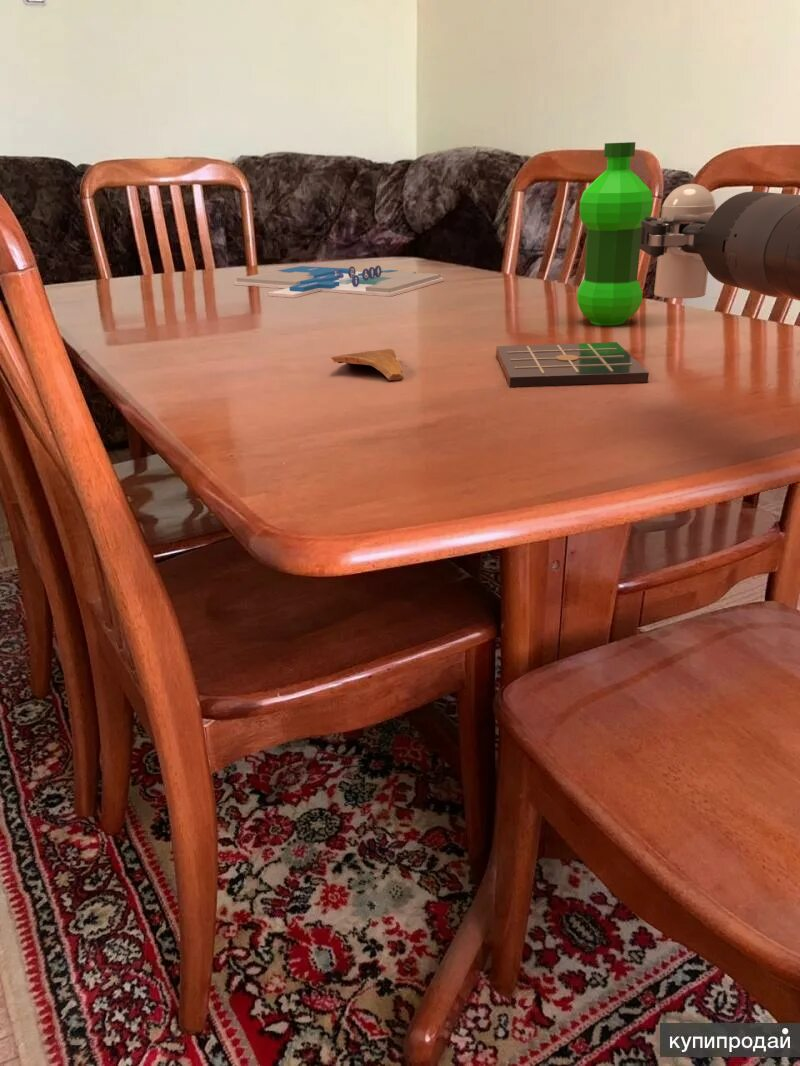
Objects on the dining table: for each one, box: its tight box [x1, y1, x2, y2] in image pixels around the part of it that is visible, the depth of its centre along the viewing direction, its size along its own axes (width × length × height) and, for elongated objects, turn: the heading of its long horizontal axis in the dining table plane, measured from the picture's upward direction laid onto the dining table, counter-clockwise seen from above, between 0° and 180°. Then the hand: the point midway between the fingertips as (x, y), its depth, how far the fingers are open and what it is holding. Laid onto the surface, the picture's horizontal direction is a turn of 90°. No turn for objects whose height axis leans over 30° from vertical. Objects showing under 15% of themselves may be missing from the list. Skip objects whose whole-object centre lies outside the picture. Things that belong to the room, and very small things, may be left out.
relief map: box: [233, 265, 445, 299], centre depth 170 cm, size 30×40×4 cm
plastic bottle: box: [576, 141, 654, 327], centre depth 122 cm, size 10×10×25 cm
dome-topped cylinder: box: [653, 183, 717, 300], centre depth 79 cm, size 5×5×10 cm
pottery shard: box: [330, 348, 404, 381], centre depth 104 cm, size 10×9×2 cm
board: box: [495, 341, 650, 388], centre depth 103 cm, size 16×16×1 cm
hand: (673, 227), depth 81 cm, fingers closed on dome-topped cylinder, 5 cm apart
